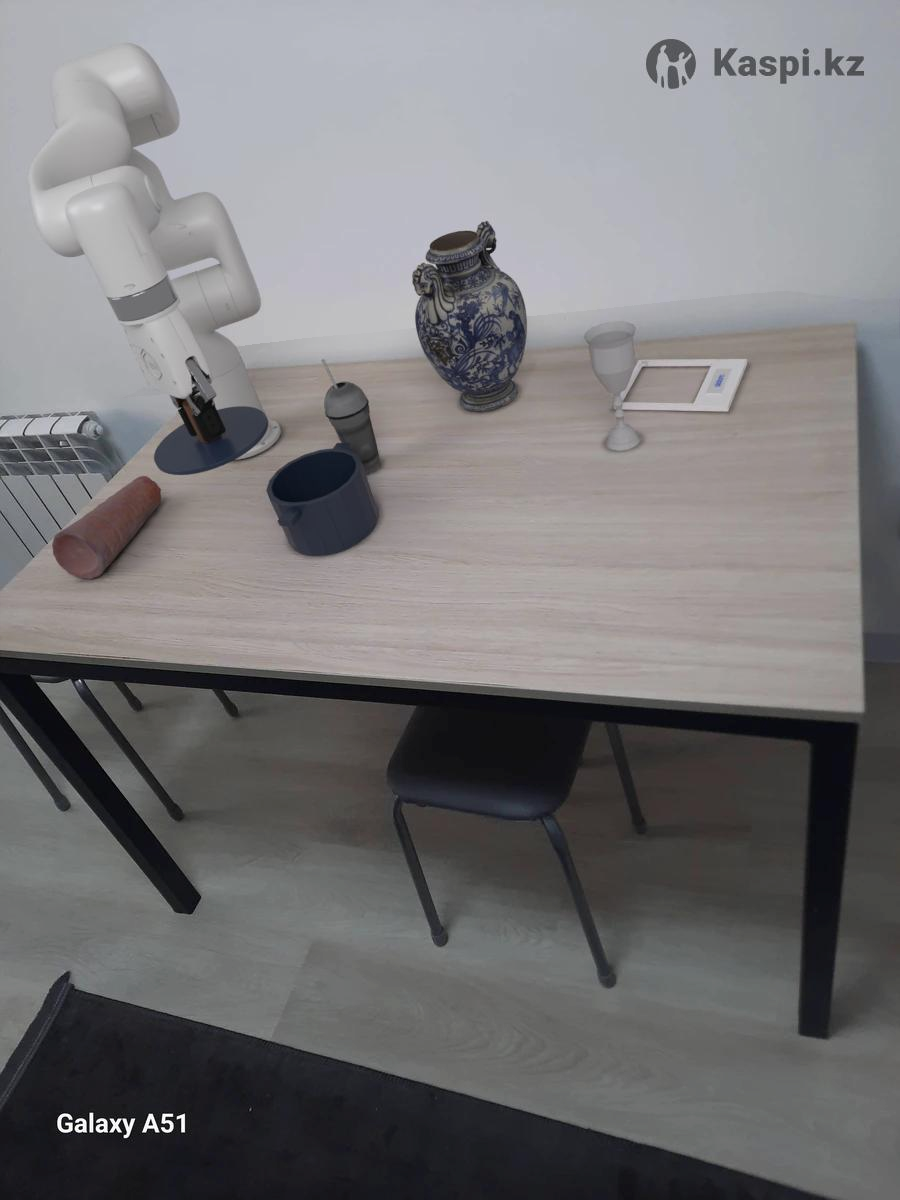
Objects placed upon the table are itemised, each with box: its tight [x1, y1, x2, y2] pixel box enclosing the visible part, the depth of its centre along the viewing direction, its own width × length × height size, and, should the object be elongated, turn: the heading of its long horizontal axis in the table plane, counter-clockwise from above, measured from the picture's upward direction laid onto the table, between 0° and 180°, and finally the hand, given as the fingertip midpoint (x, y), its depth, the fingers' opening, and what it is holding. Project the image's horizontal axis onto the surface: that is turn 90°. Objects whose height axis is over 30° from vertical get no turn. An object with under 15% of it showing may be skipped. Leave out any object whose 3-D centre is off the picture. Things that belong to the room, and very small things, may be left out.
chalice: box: [583, 320, 641, 452], centre depth 126 cm, size 7×7×18 cm
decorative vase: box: [411, 220, 528, 413], centre depth 144 cm, size 21×19×28 cm
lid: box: [153, 394, 268, 476], centre depth 111 cm, size 16×16×7 cm
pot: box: [265, 442, 380, 557], centre depth 130 cm, size 15×20×10 cm
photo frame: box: [613, 358, 748, 413], centre depth 139 cm, size 15×1×18 cm
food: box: [51, 475, 162, 580], centre depth 143 cm, size 21×9×9 cm, turn 165°
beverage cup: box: [321, 358, 382, 475], centre depth 138 cm, size 7×7×20 cm
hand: (208, 432), depth 112 cm, fingers closed on lid, 2 cm apart
